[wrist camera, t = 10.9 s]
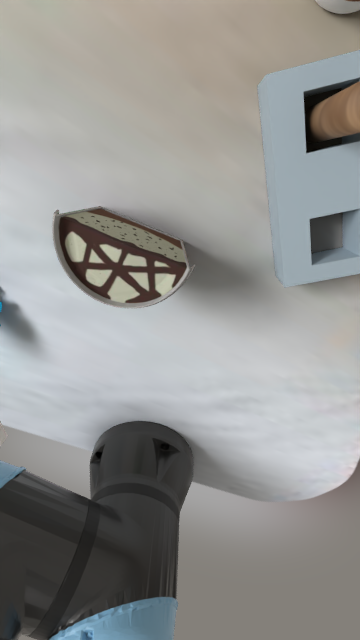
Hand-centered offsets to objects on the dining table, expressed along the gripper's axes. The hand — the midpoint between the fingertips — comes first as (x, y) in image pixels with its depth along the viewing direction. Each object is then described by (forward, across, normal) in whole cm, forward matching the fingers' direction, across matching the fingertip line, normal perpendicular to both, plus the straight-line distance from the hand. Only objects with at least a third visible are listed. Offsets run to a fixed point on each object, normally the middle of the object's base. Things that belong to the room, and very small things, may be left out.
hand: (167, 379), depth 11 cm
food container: (+27, +5, 0) cm, 27 cm away
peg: (+26, -14, -8) cm, 31 cm away
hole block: (+26, -15, -3) cm, 30 cm away
